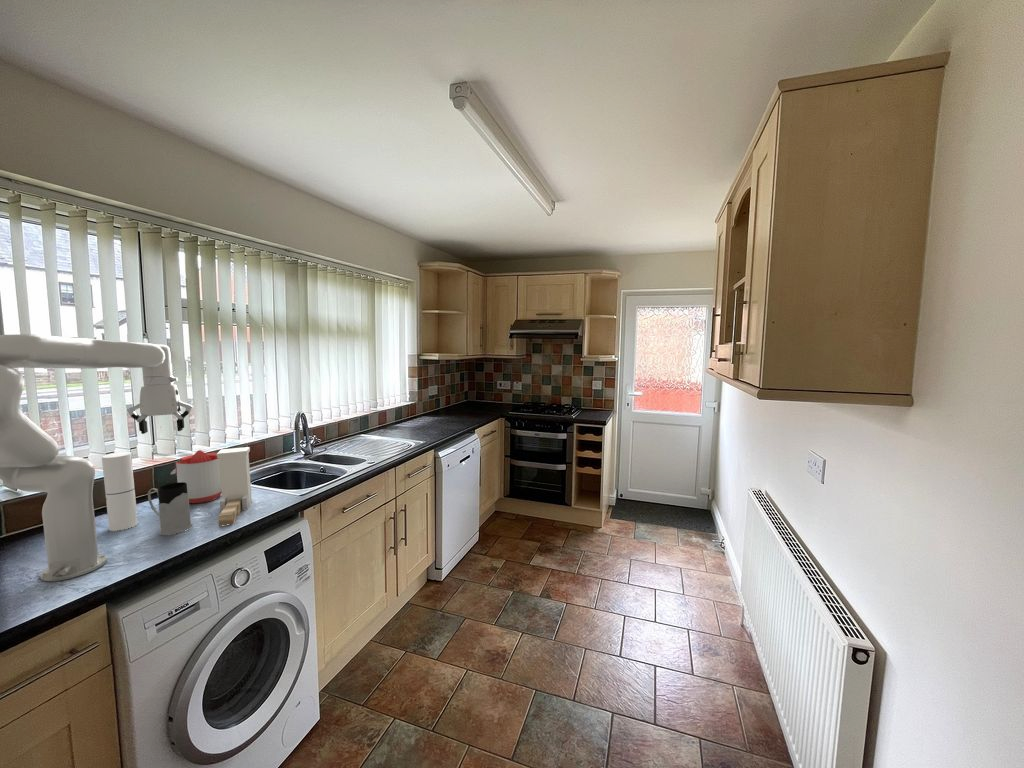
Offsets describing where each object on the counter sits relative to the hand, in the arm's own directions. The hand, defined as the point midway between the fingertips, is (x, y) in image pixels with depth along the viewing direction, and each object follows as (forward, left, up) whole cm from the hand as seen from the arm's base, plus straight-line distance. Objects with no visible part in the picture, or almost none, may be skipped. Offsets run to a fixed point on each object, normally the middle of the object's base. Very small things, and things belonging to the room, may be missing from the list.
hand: (162, 431), depth 141 cm
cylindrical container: (+4, +14, -32) cm, 36 cm away
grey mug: (-5, -1, -32) cm, 33 cm away
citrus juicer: (+24, -3, -32) cm, 41 cm away
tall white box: (+8, -18, -32) cm, 38 cm away
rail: (-2, -18, -33) cm, 37 cm away
